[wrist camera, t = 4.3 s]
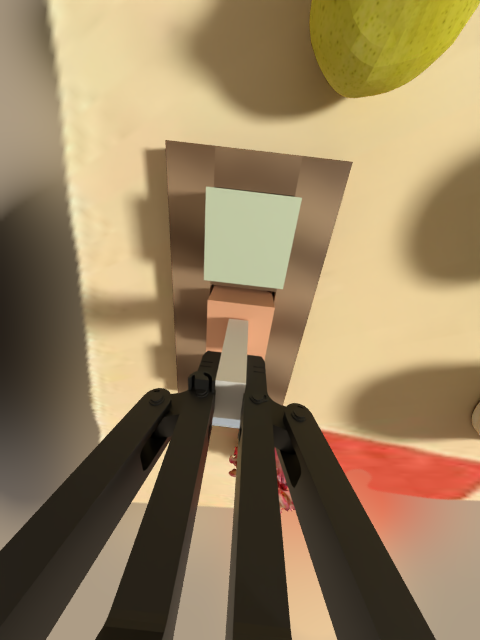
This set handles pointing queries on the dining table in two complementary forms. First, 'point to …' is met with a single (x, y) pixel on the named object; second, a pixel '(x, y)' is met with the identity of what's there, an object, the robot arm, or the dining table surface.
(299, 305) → the button board
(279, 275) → the button sage
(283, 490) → the flower
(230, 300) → the button terracotta
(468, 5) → the fruit
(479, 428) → the jar
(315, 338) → the dining table surface
